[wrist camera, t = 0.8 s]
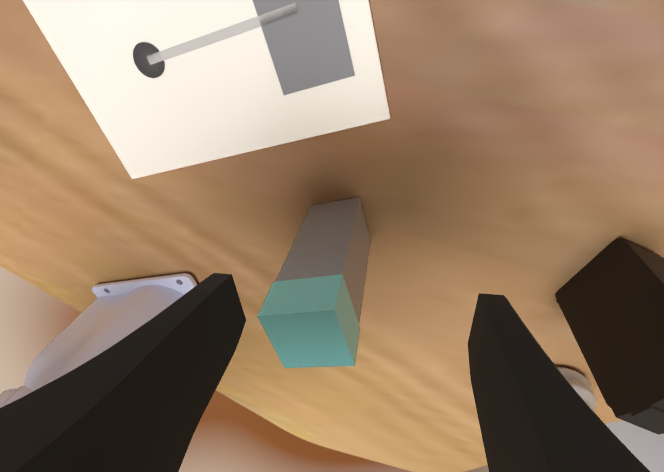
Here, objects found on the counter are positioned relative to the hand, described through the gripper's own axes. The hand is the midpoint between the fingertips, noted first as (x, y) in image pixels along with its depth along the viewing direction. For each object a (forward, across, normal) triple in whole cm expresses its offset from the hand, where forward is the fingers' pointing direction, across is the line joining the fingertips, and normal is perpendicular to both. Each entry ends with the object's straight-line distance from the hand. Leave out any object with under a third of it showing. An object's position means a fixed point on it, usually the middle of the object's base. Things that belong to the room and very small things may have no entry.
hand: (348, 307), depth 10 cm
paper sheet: (+10, +8, -6) cm, 15 cm away
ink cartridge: (+11, -13, +7) cm, 18 cm away
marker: (+10, +2, +4) cm, 11 cm away
